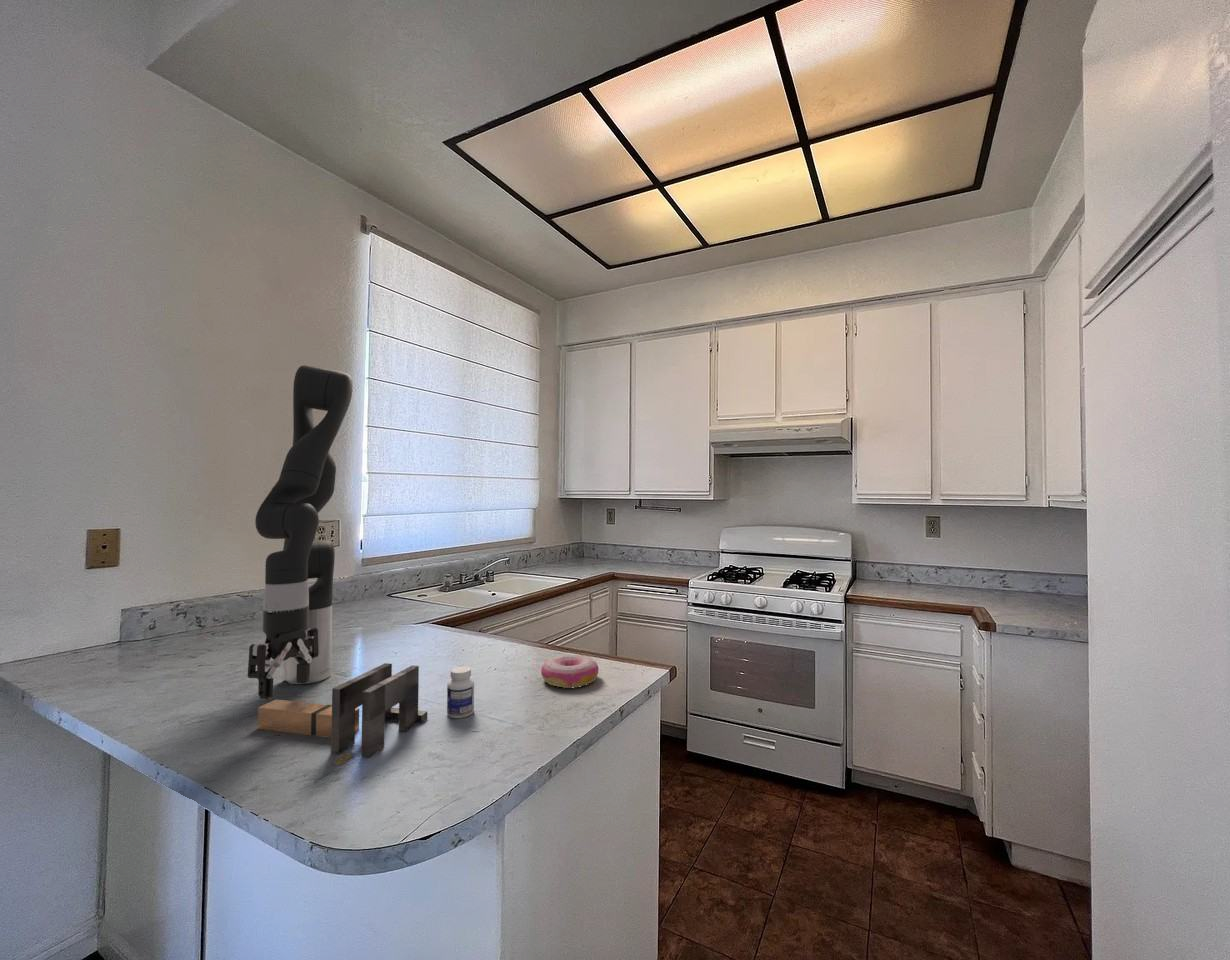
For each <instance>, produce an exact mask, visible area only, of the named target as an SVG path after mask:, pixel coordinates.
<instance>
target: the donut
mask: <svg viewBox="0 0 1230 960" xmlns="http://www.w3.org/2000/svg"><path fill="white" fill-rule="evenodd" d="M540 671H541V673H540V674H541V676H542V679H543V681H544V682H546V683H547V684H548V685H549V686H552V685H553V686H552V687H554V686H557V687H556V688H558V687H563V688H562V689H565V688H572V687H579V686H583V685H586V684H588V685H590V684H592V683H593V682H594V681H595V680H596V679H597V677H598V674H599V665H598V664H597V661H595V660H594V659H593V658H591V657H589V656H586V655H581V654H563V655H558V656H553V657H551V658H549V659H548V660H546V661H545V662H544V663H543V665H542V667H541V670H540ZM589 683H590V684H589ZM586 686H587V685H586Z"/></svg>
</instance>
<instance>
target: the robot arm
mask: <svg viewBox="0 0 1230 960" xmlns="http://www.w3.org/2000/svg"><path fill="white" fill-rule="evenodd" d="M293 380H294V381H293V386H292V387H293V395H292V399H293V401H292V402H293V403H292V407H293V408H292V412H293V413H292V414H293V415H292V416H293V422H292V423H293V426H292V427H293V433H292V434H293V436H292V446H291V447H290V449H289V451H288V452H287V453H286V456H285V459H284V462H283V465H282V468H281V472H280V474H279V478H278V480H277V482H275V485H274V486H273V487H272V488H271V490H270V491H269V493H267V496H266V497H265V499H264V500H263V502H262V503H261V504H260V505H259V508H258V509H257V512H256V515H255V520H254V521H255V522H254V523H255V528H256V531H257V534H259V536H261V537H263V538H265V539H268V540H282V539H284V542H283V549H282V550H280V551H279V550H278V551H273V552H272V553H269V554H268V555H267V557H266V559H265V565H264V566H265V569H264V571H265V574H264V575H265V577H264V578H265V579H264V580H265V581H264V583H265V584H264V591H263V597H262V602H263V603H262V604H263V605H262V607H263V608H262V631H263V633H264V634H265V640H264V642H262V643H251V645H250V646H249V648H248V649H249V651H248V665H247V678H248V679H257V681H258V686H257V687H258V690H257V691H258V693H257V694H258V697H259V698H260V699H261V700H270V699H272V698H273V696H274V678H273V676H274V674H275V672H276V670H277V668H279V667H280V666H281V665H282V663H283V674H282V675H283V676H282V678H283V679H282V680H283V681H284V682H287V683H288V684H291V685H306V684H307V685H308V684H313V683H317V682H321V681H323V680H326V679H328V678H329V677H331V675H332V637H333V635H332V634H333V633H332V632H333V631H332V629H333V590H334V589H333V588H334V587H333V586H334V585H333V583H334V573H335V572H334V571H335V559H336V558H335V554H336V553H335V546H334V544H333V542H332V541H331V540H328V539H318V540H317V539H315V538H316V534H317V532H318V527H319V523H320V522H319V521H320V519H319V518H320V517H319V513H320V512H321V510H322V509H323V508H324V507H325V506H326V505H327V504H328V503H329V501H330V500H331V498H332V496H333V495H334V492H335V483H336V476H337V475H336V473H337V466H336V462H335V459H334V458H333V455H332V454H331V452H330V451H331V450H330V449H331V448H332V445H333V443H334V441H335V439H336V437H337V435H338V433H339V430H340V428H341V426H342V423H343V422H344V419H345V417H346V414H347V412H348V409H349V408H350V404H351V400H352V398H353V397H352V396H353V387H354V386H353V380H352V377H351V376H350V374H348V373H346V372H344V371H339V370H333V369H329V368H324V367H318V366H313V365H312V366H311V365H304V364H302V365H301V366H299V367H298V368H297V369H296V372H295V375H294V379H293ZM313 409H314V410H319V411H324V412H326V414H325V416H324V417H323V418H322V420H321V421H320V422H319V423H318V424H317V425H316V424H315V419H314V413H313ZM311 579H316V581H315V582H314V583H313V584H312V585H311V586H310V587H309V583H308V580H311ZM271 659H272V660H271Z"/></svg>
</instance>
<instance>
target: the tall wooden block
mask: <svg viewBox="0 0 1230 960" xmlns="http://www.w3.org/2000/svg"><path fill="white" fill-rule="evenodd" d="M257 708H258V710H257V711H258V712H257V714H258V715H257V729H259V730H266V731H276V732H284V733H289V734H290V733H291V734H300V735H306V736H308V735H309V736H313V737H323V738H331V733H332V704H323V703H322V704H321V703H314V702H305V701H294V700H285V699H274V700H272V701H270V702H267V703H265V704H263V705H261V706H258V707H257ZM358 731H360V708H359V707H357V708H355V733H356V732H358Z"/></svg>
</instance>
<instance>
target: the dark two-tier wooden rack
mask: <svg viewBox="0 0 1230 960" xmlns="http://www.w3.org/2000/svg"><path fill="white" fill-rule="evenodd" d="M392 672H393V664H392V663H387V662H386V663H385V662H384V663H383V664H381V665H379V666H377V667H374V668H372V669H370V670H368V671H366V672H365V673H364V672H363V673H362V674H360V675H357V676H356V677H354V678H351V679H349V680H347V681H345V682H343V683H341V684H339V685H337V686H334V687H333V688H332V689H331V690H332V691H331V695H332V696H331V705H332V733H331V741H330V742H331V744H330V753H331V754H335V755H339V754H341V753H342V752H344V751H345V750H347V749H349V748H350V747H352V746H353V745H355V744H356V736H355V735H356V732H355V708H359V707H361V749H360V750H361V755H360V756H361V758H364V759H371V758H372V757H373V756H374V755H376V754H377V753H379V752H380V751H382V750H383V749H384V748H385V724H387V723H389V722H390V721H398V732H405V733H407V731H409V730H411V729H412V728H414V726H416V725H417V724H423V723H424V722H426V721H427V720H428V711H426V710H419V689H420V688H419V679H420V678H419V675H420V674H419V672H420V667H419V665H410V666H409V667H406V668H405V669H402V670H401V671H399V672H397V673H395V674H392ZM396 705H398V708H397V707H395V706H396ZM351 758H353V753H348V752H347V753H345V754H343V755H342V756H340V757H338V758H337V759H336V760H334V761H333V762H332V765H335V766H340V765H342V764H344V763H345V762H346V761H348V760H350V759H351Z"/></svg>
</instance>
